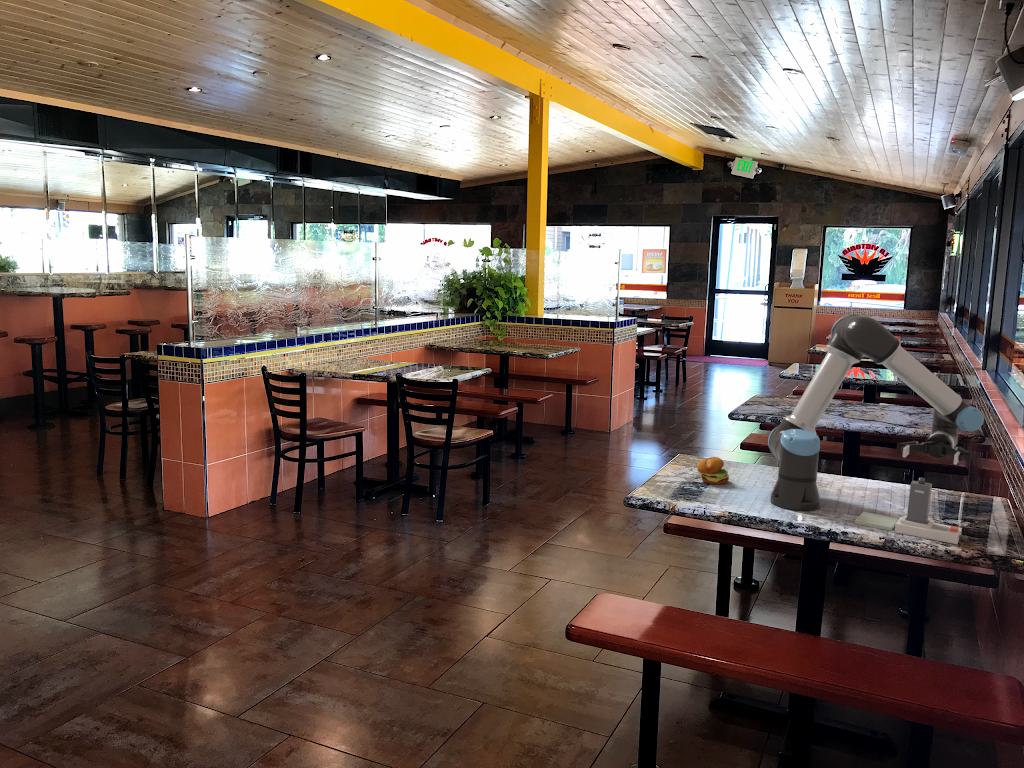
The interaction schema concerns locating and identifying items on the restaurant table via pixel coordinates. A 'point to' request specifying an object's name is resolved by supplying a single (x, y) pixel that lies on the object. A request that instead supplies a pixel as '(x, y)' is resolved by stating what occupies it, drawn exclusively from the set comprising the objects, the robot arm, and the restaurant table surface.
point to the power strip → (930, 530)
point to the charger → (919, 501)
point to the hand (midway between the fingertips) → (929, 456)
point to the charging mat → (876, 521)
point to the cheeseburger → (713, 471)
